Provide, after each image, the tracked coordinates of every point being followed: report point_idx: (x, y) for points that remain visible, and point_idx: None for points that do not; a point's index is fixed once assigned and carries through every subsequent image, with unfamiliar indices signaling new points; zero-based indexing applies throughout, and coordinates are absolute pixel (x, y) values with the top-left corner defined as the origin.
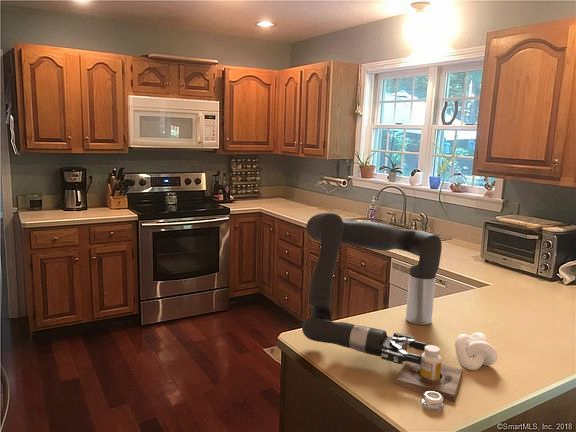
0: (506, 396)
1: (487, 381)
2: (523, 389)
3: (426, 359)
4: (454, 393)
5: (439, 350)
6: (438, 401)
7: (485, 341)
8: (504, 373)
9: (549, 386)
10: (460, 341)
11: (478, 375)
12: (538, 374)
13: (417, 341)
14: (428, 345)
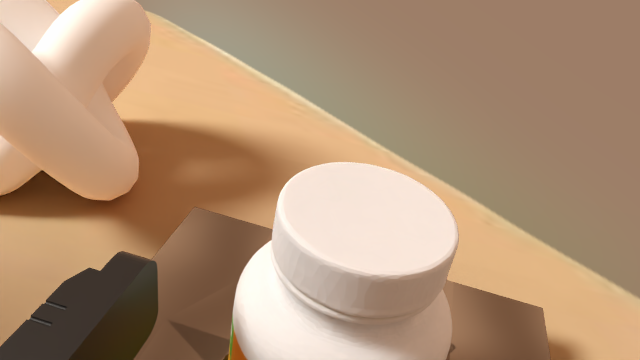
0: (348, 151)
1: (235, 167)
2: (275, 103)
3: (440, 349)
4: (526, 304)
5: (387, 171)
6: None
7: (46, 2)
8: (150, 107)
9: (235, 58)
10: (26, 65)
11: (177, 179)
12: (153, 50)
13: (27, 355)
14: (300, 228)
